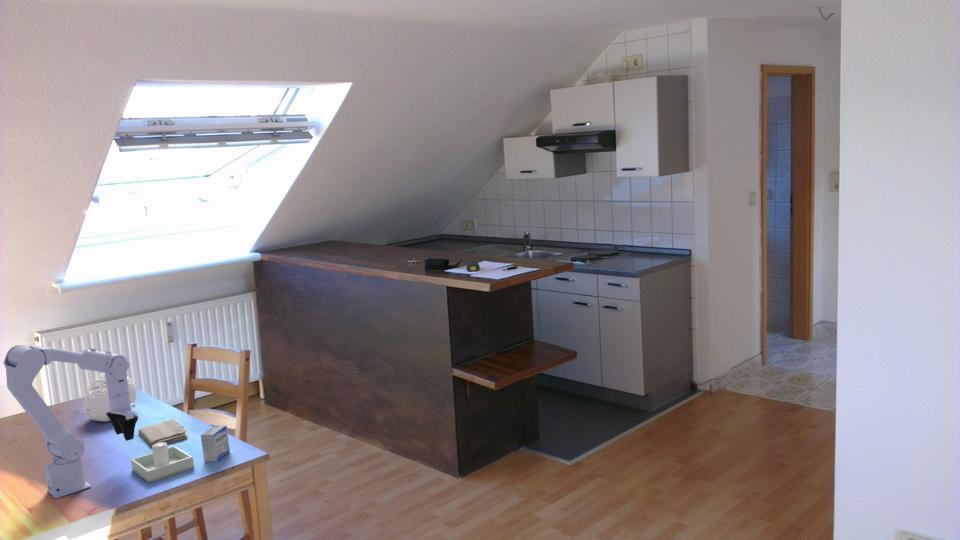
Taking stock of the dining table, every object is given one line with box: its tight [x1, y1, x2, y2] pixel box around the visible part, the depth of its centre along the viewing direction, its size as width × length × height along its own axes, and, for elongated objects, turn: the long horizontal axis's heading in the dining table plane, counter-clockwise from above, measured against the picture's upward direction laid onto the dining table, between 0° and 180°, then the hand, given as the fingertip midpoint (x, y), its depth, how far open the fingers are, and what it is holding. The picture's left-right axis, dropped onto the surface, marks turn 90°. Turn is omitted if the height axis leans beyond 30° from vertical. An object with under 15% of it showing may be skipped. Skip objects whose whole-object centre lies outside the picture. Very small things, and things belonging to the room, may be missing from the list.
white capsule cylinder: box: [151, 442, 170, 468], centre depth 235 cm, size 4×4×7 cm
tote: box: [130, 445, 195, 484], centre depth 236 cm, size 13×13×4 cm
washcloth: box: [138, 419, 188, 447], centre depth 263 cm, size 12×18×3 cm, turn 38°
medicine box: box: [200, 424, 231, 463], centre depth 242 cm, size 8×4×9 cm, turn 168°
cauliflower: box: [82, 372, 137, 423], centre depth 285 cm, size 20×18×16 cm
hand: (124, 436), depth 238 cm, fingers open, 7 cm apart
